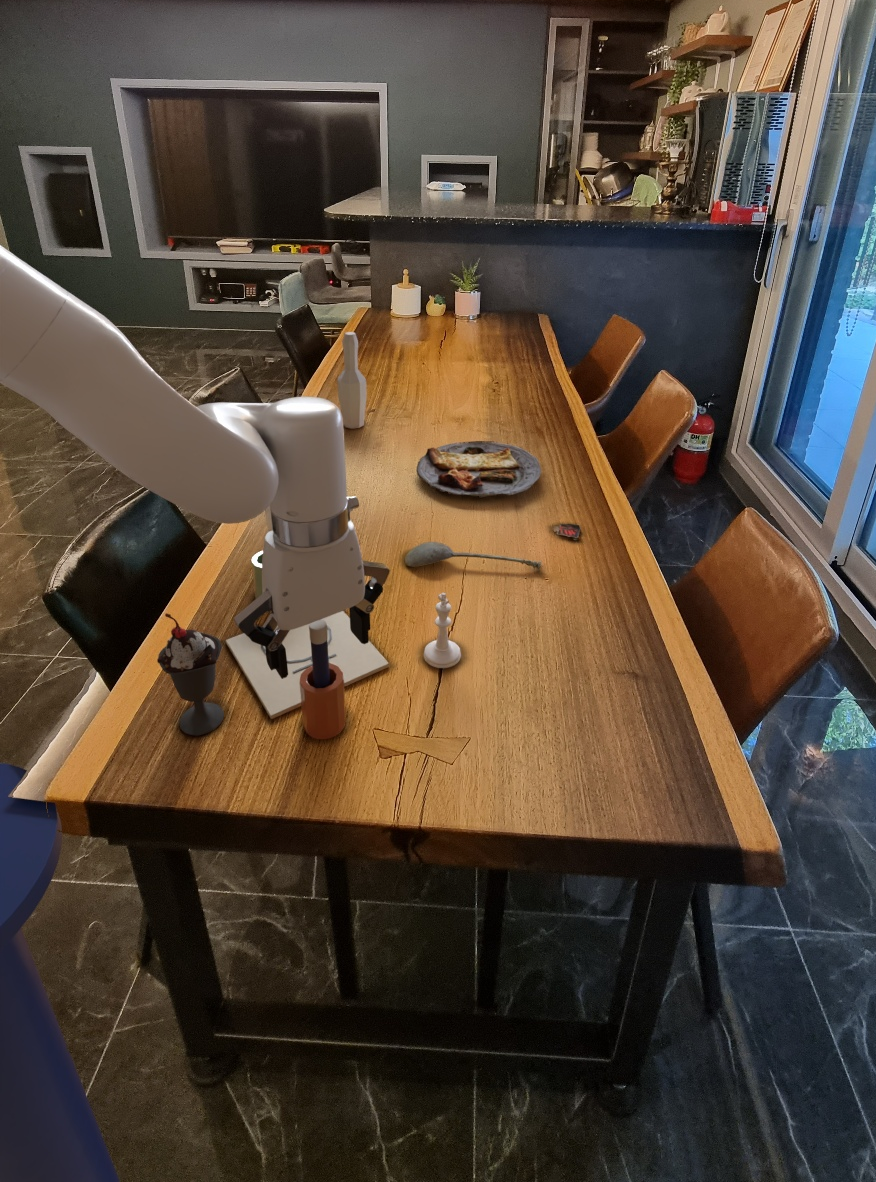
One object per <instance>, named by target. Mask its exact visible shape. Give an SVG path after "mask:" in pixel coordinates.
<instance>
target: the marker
mask: <svg viewBox="0 0 876 1182" xmlns="http://www.w3.org/2000/svg"><path fill="white" fill-rule="evenodd" d="M309 633H310V641H311V652H312V665H313V678H314V687H315V688H325V687H328V686H330V673H329V657H328V642H327V638H328V635H327V623H326V621H325V620H323V619H321V620H318V621H315V622H313V623H310V624H309Z"/></svg>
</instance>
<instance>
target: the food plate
mask: <svg viewBox="0 0 876 1182" xmlns="http://www.w3.org/2000/svg"><path fill="white" fill-rule="evenodd" d="M416 473H417V476H418V477H419V478H420V479H421V480H423V481H424V482H425V483H426V484H427V486H428V487H431V488H432V489H435V490H436V491H435V492H437V491H440V492H441V493H443V492H448V494H449V495H452V496H453V495H455V496H456V495H460V496H464V495H465V496H471V497H478V496H479V498H480V499H481V498H485V497H490V496H497V495H507V496H511V495H512V496H513V495H517V494H520V493H522V492H526V491H527V490H529V489H530V488H531V487H533V485H534V483H536V482H537V481H538V480H539V479H540V477H541V473H542V467H541V464H540V462H539V458H537V457H536V456H534V455H533V454H531V452H529V451H527V450H526V449H524V448H521V447H519V446H516V445H513V444H507V443H502V442H496V441H493V440H475V441H474V440H473V441H472V440H471V441H460V442H451V443H448V444H443V445H439V447H437V448H436V447H430V448H427V450H426V453H425V455H423V456H421V457H420V458H419V461H418V462H417V466H416Z"/></svg>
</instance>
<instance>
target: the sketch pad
mask: <svg viewBox="0 0 876 1182" xmlns="http://www.w3.org/2000/svg"><path fill="white" fill-rule="evenodd" d="M323 620H325V621H326V623H327V635H328V638H327V642H328V657H329V663H331V664H334V665H337V666H338V667H339V668H340V669H341V670H342V672H343V675H344V688H346V687H347V686H349V685H351V684H353V683H356V682H359V681H360V680H363V679H365V678H367V677H369V676H372V675H374V674H377V673H378V672H380V671H383V670H385V669H388V668H389V667H390V664H389V662H388V661H387V659H386V658H385V657H384V656H383V655H382V653H381V652H380V651H379V650H378V649H377V648H376V647H375V645H374V644H373V643H372V642H371V641H370V640H369V642H368V643H366V644H362V643H361V642H360V641H359V640H358V639H357V638H356V636H355V635H354V634H353V633H352V632H351V629H350V616H348V614H347V612H345V610H344V611H341V612H339V613H336V614H333V615H331V616H328V617H326V618H323ZM277 627H278V625H277ZM277 627H276V628H275V630H276V629H277ZM275 630H274V632H275ZM225 644H226V646H227V648H228V649H229V651H230V653H231V654H232V655H233V657H234V659H235V661H236V662H237V664H238V665H239V668H240V670H241V671H242V672H243V674H244V676H245V678H246V680H247V681H248V683H249V685H250V686H251V688H252V690H253V691H254V693H255V694H256V696H257V698H258V700H259V701H260V703H261V705H262V706H263V709H264V710H265V711H266V713H267V715H268V717H269V718H270V720H274V719H275V718H278V717H280V716H282V715H285V714H287V713H289V712H291V711H293V710H295V709H298V708H300V707H302V704H301V693H300V676H301V674H302V673H303V672H304V671H305V670H306V668H308V667H310V666H312V652H311V641H310V633H309V624H307V625H305V626H302V627H299V628H296V629H292V630H290V631H289V633H288V634H287V636H286V637H285V639H284V640H283V642H282V644H283V645H284V647H285V649H286V657H287V667H288V675H287V677H286V678H283V679H282V678H281V677H280V675H279V674H278V672H277V671H276V669H274V670H271V669H270V668H269V666H268V663H267V659H266V651H265V646H262V645H260V644H257V643H255V642H252V641H251V639H250V638H249V637H248V636H246V635H245V634H244V633H243V632H242V633H240V634H238V635H235V636H232V637H230V638H227V639H225Z"/></svg>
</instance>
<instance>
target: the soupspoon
mask: <svg viewBox="0 0 876 1182" xmlns="http://www.w3.org/2000/svg"><path fill="white" fill-rule="evenodd" d="M450 558H479V559H489V560H490V559H491V560H499V561H507V562H513V563H520V564H521V565H526V566H527V567H532V568H533V569H536V571H537V572H539V571H540V569H541V566H542V560H539V561H537V560H534V561H533V560H530V559H527V560H526V559H525V558H522V559H521V558H517V557H509V556H502V555H494V554H484V553H476V552H475V553H474V552H454V551H453V550H452V549H451V547H450V546H448V545H446V544H445V543H442V542H438V541H427V542H423V543H420V544H418V545H416V546H415V547H413V548H412V549H411V550H409V551H408V552H407V554H406V555H405V557H404V563H405V565H406V566H408V567H421V566H426V565H431V564H436V563H439V562H442V561H445V560H447V559H450Z"/></svg>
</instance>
